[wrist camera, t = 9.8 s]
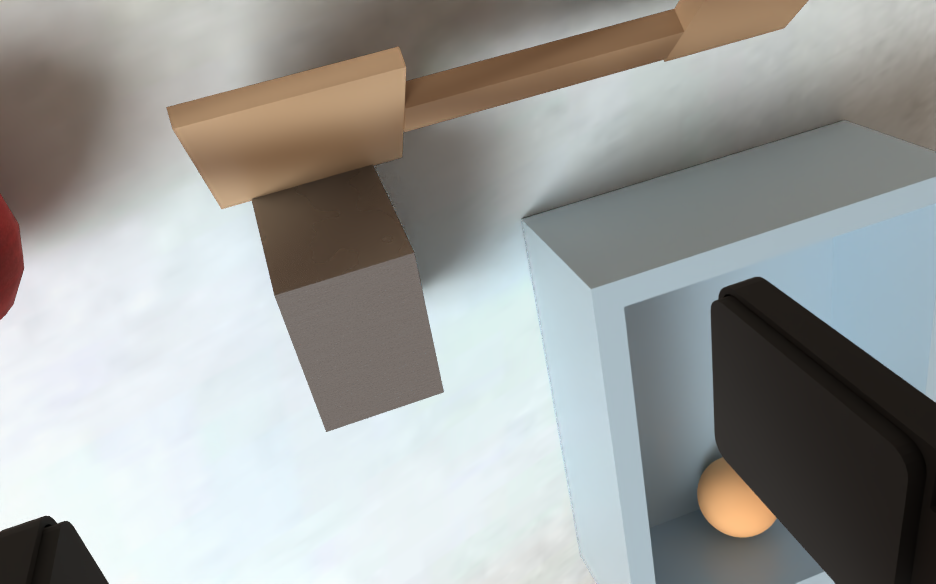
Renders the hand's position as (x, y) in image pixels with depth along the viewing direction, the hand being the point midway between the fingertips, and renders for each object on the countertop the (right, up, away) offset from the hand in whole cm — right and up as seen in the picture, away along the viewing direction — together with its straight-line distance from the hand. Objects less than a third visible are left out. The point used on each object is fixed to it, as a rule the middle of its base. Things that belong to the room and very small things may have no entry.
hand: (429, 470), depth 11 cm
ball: (+13, -7, +25) cm, 29 cm away
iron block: (-4, +5, +13) cm, 14 cm away
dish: (+11, 0, +24) cm, 27 cm away
